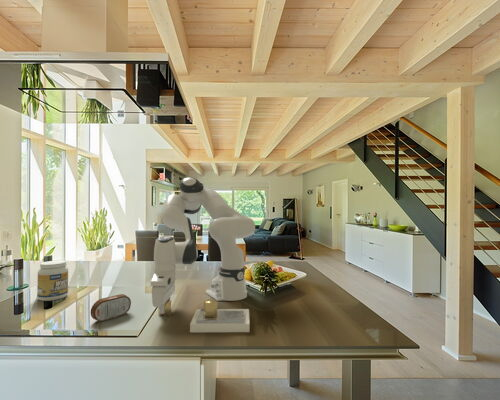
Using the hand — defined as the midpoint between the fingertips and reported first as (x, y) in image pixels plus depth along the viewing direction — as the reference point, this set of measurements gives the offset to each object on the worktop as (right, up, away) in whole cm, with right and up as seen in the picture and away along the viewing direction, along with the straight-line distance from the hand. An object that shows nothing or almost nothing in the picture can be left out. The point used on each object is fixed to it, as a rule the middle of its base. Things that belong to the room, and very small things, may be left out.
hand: (164, 310), depth 117 cm
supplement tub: (-60, -2, +20) cm, 63 cm away
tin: (-20, -2, -4) cm, 20 cm away
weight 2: (+20, +3, -11) cm, 23 cm away
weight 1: (0, -2, 0) cm, 2 cm away
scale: (+24, -2, -9) cm, 26 cm away
